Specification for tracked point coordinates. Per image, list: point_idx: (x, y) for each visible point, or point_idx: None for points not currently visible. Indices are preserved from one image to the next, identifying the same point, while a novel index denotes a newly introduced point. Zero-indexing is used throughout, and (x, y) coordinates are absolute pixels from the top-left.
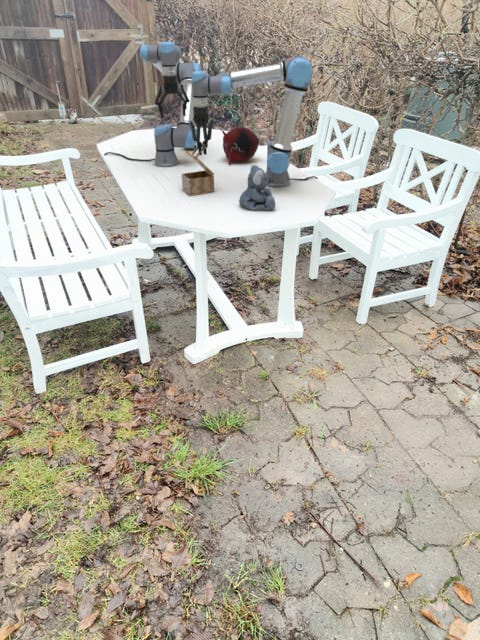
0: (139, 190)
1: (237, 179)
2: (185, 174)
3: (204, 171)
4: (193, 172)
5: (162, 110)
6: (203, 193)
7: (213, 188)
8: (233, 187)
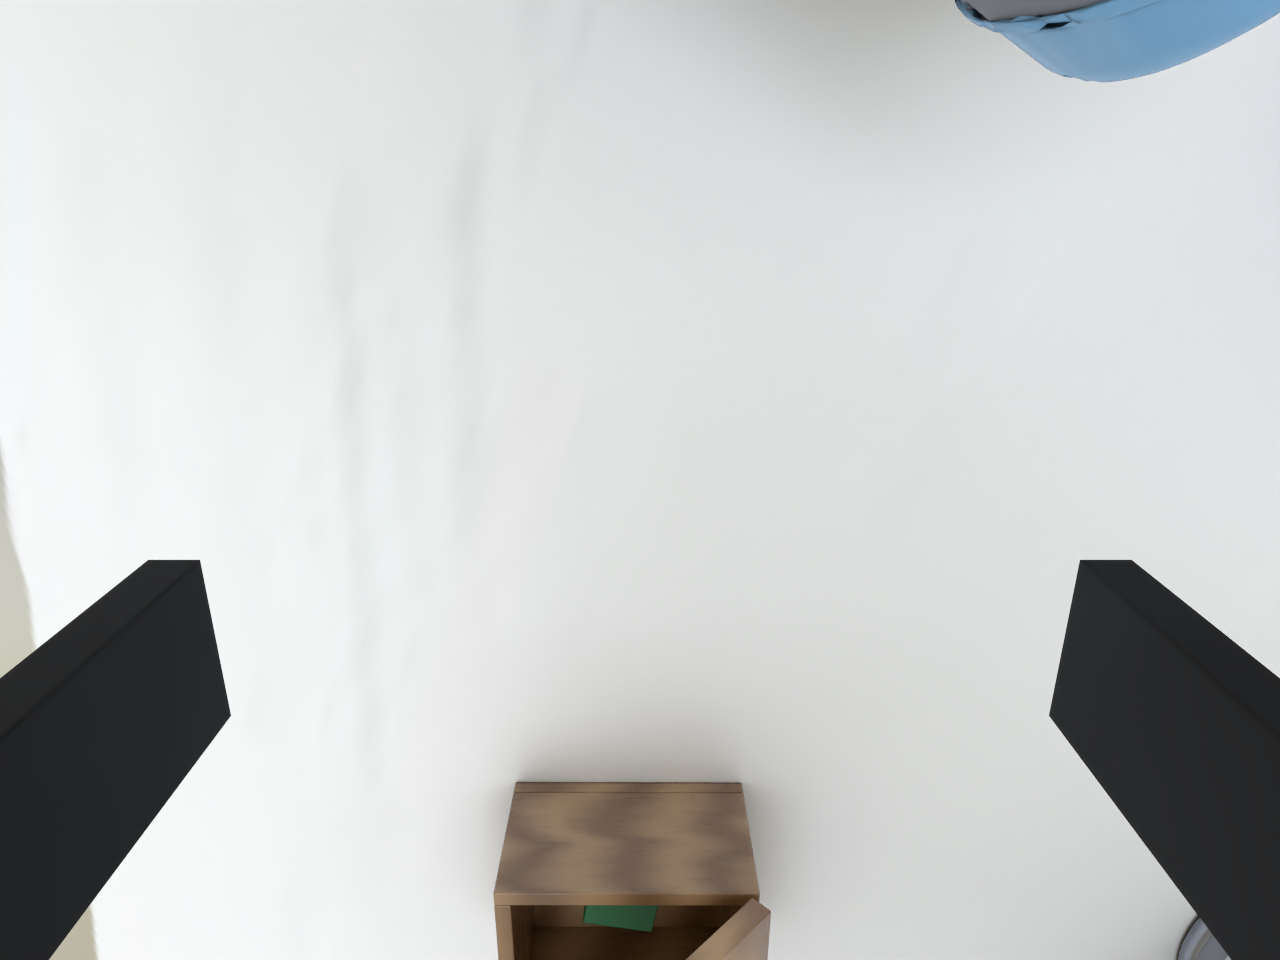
0: None
1: None
2: (532, 899)
3: (740, 902)
4: (620, 903)
5: (55, 937)
6: None
7: None
8: (922, 900)
